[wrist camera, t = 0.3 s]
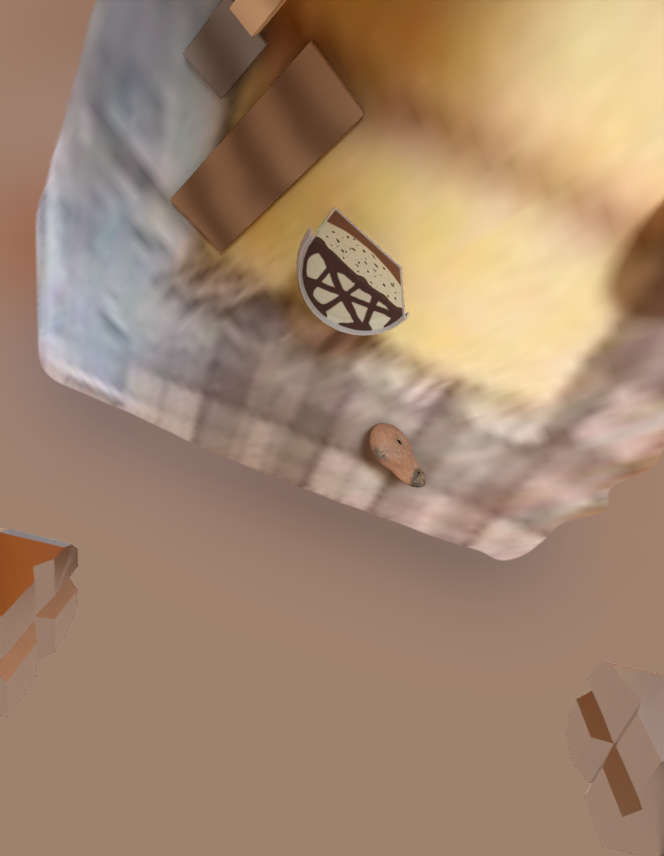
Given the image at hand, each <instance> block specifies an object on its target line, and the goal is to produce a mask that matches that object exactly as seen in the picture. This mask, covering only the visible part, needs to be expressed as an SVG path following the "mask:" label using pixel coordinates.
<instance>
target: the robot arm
mask: <svg viewBox="0 0 664 856" xmlns="http://www.w3.org/2000/svg"><path fill="white" fill-rule="evenodd" d="M77 551H78V550H77V548H76V547H75V546H73V545H72V544H69V543H65V542H61V541H57V540H52V539H49V538H45V537H40V536H36V535H32V534H28V533H24V532H20V531H16V530H12V529H5V528H1V527H0V716H6V717H8V716H9V715H10V713H11V712H12V711H13V709H14V708H15V706H16V705H17V704H18V702H19V701H20V700H21V698H22V697H23V695H24V694H25V693H26V691H27V690H28V688H29V687H30V686H31V684H32V683H33V682H34V680H35V679H36V677H37V661H38V660H40V659H42V658H44V657H46V656H48V655H50V654H51V653H53V652H55V651H56V649H57V648H58V646H59V645H60V644H61V642H62V641H63V639H64V638H65V636H66V634H67V632H68V630H69V627H70V624H71V623H72V620H73V618H74V615H75V610H76V605H77V594H78V590H77V588H76V586H75V585H74V584H73V582H72V581H71V579H70V578H69V577H70V576H71V575H72V573H73V572H74V571H75V570H76V568H77V567H78V554H77V553H78V552H77ZM588 682H589V685H590V688H591V691H590V692H589V693H587V694H585V695H583V696H581V697H579V698H577V699H576V700H575V702H574V705H573V706H572V708H571V710H570V712H569V715H568V723H567V733H566V734H567V741H568V748H569V752H570V755H571V758H572V761H573V763H574V766H575V767H576V768H577V769H578V771H579V772H580V773H581V774H582V775H583V776H584V777H585V779H586V780H587V781H588V782H589V786H588V788H587V791H586V794H585V799H586V802H587V805H588V808H589V811H590V814H591V816H592V819H593V822H594V825H595V828H596V831H597V834H598V837H599V839H600V842H601V845H602V847H606V848H610V849H614V850H618V851H622V852H626V853H630V854H634V855H638V856H664V675H663V674H659V673H654V672H650V671H645V670H641V669H636V668H631V667H626V666H622V665H617V664H612V663H608V662H601V663H600V664H598V665H597V666H595V667H594V669H593V670H592V672H591V674H590V675H589V677H588Z"/></svg>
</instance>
